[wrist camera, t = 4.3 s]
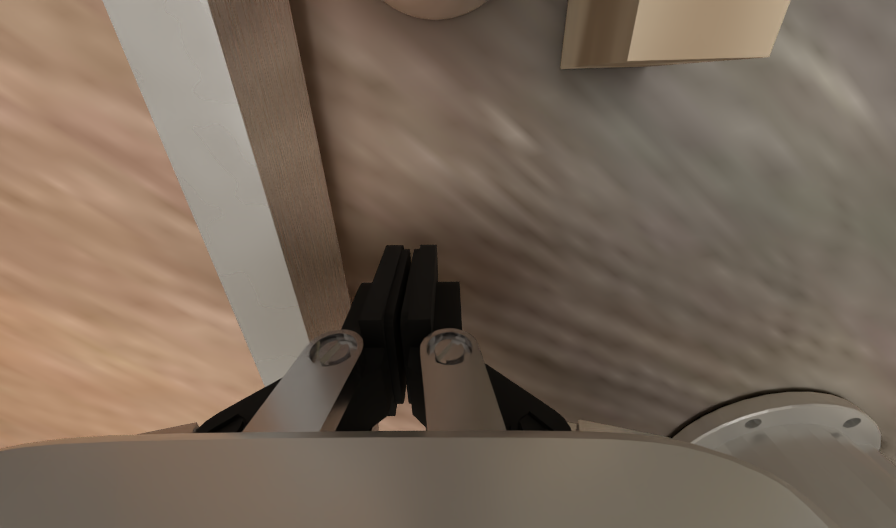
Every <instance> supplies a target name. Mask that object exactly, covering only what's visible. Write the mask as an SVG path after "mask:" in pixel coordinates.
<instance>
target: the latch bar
mask: <svg viewBox="0 0 896 528" xmlns="http://www.w3.org/2000/svg"><path fill="white" fill-rule="evenodd" d="M103 3H104V5H105V8H106V10H107V12H108V15H109V17H110V19H111V22H112V24H113V27H114V29H115V31H116V34H117V36H118V38H119V41H120V43H121V46H122V48H123V50H124V53H125V55H126V57H127V60H128V62H129V65H130V67H131V69H132V72H133V74H134V76H135V79H136V81H137V84H138V86H139V88H140V91H141V93H142V95H143V98H144V100H145V103H146V105H147V107H148V110H149V112H150V114H151V117H152V119H153V122H154V124H155V126H156V129H157V131H158V133H159V136H160V138H161V141H162V143H163V145H164V148H165V150H166V152H167V155H168V157H169V160H170V162H171V164H172V167H173V169H174V171H175V174H176V176H177V179H178V181H179V183H180V186H181V188H182V190H183V193H184V195H185V198H186V200H187V202H188V205H189V207H190V209H191V212H192V214H193V217H194V219H195V221H196V224H197V226H198V228H199V231H200V233H201V236H202V238H203V240H204V243H205V245H206V247H207V250H208V252H209V255H210V257H211V259H212V262H213V264H214V266H215V269H216V271H217V274H218V276H219V278H220V281H221V283H222V285H223V288H224V290H225V293H226V295H227V297H228V300H229V302H230V304H231V307H232V309H233V312H234V314H235V316H236V319H237V321H238V323H239V326H240V328H241V331H242V333H243V335H244V338H245V340H246V342H247V345H248V347H249V350H250V352H251V354H252V357H253V359H254V361H255V364H256V366H257V369H258V371H259V373H260V376H261V378H262V381H263V383H264V385H265V387H266V386H268V385H270V384H272V383H273V382H275V381H277V380H279V379H281V378H282V377H283V376H284V375H285V374H286V372H287V371H288V370H289V368H290V367H291V366H292V364H293V363H294V362H295V360H296V359H297V358H298V356H299V355H300V354H301V352H302V351H303V350H304V348H305V347H306V346H307V345H308V344H309V343H310V342H311V341H312V340H313V339H314V338H316V337H317V336H319V335H321V334H324V333H326V332H329V331H333V330H341V328H342V326H343V324H344V321H345V319H346V317H347V314H348V312H349V310H350V307H351V303H350V298H349V293H348V288H347V283H346V278H345V273H344V268H343V263H342V259H341V254H340V249H339V244H338V239H337V234H336V229H335V224H334V219H333V214H332V210H331V205H330V200H329V195H328V190H327V185H326V180H325V175H324V170H323V166H322V161H321V156H320V151H319V146H318V141H317V136H316V131H315V126H314V121H313V117H312V112H311V107H310V102H309V97H308V92H307V87H306V82H305V77H304V73H303V68H302V63H301V58H300V53H299V48H298V43H297V38H296V33H295V28H294V24H293V19H292V14H291V9H290V4H289V0H103Z"/></svg>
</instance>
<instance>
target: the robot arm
mask: <svg viewBox="0 0 896 528" xmlns="http://www.w3.org/2000/svg"><path fill="white" fill-rule="evenodd" d="M406 384H407V393H408V401H409V404H412V413H413V415H414V416H415V417H416V418H417V419H418V420H419V421H420V422H421V423H422V424H423V425H424V426H425V427H426V431H378V430H379V425H378V423H379V422H380V421H381V420H383V419H384V418H385V417H386V416H395V415H396V409H397V404H403V403H404V398H405V391H406ZM880 447H881V432H880V430H879V427H878V425H877V423H876V422H875V421H874V420H872V419H871V418H870V417H869V416H868V415H867V414H866V413H864V412H863V411H862V410H861V409H859V408H858V407H857V406H855V405H854V404H852V403H851V402H849V401H848V400H846V399H843V398H840V397H837V396H834V395H831V394H824V393H816V392H783V393H775V394H767V395H762V396H758V397H754V398H750V399H745V400H742V401H739V402H736V403H733V404H730V405H727V406H724V407H722V408H720V409H717V410H715V411H713V412H711V413H709V414H707V415H705V416H702V417H701V418H699V419H698V420H696V421H694V422H693V423H691V424H689V425H688V426H686V427H685V428H684V429H682V430H681V431H680V432H679V433H677V434H676V435H675V436H674V437H673V438H669V437H666V436H661V435H656V434H651V433H646V432H641V431H636V430H631V429H626V428H621V427H615V426H610V425H605V424H600V423H595V422H590V421H585V420H580V419H578V423H577V424H575V423H570V422H566V420H565V419H564V418H563V417H562V416H561V415H560V414H558V413H557V412H556V411H555V410H553V409H552V408H550V407H549V406H547V405H546V404H544V403H543V402H542V401H540V400H539V399H537V398H536V397H534V396H533V395H531V394H530V393H528V392H527V391H525V390H524V389H522V388H521V387H519V386H518V385H516V384H515V383H513V382H512V381H510V380H509V379H507V378H506V377H505V376H503V375H502V374H500V373H499V372H497V371H496V370H494V369H493V368H491V367H490V366H488V365H487V364H485V363H484V360H483V357H482V354H481V351H480V348H479V345H478V343H477V341H476V339H475V338H474V337H473V336H472V335H471V334H469V333H467V332H465V331H463V330H462V321H461V302H460V283H459V282H438V265H437V245H420V249H414V252H413V257H412V262H411V256H410V250H409V249H404V246H403V245H387V246H386V248H385V251H384V253H383V256H382V259H381V261H380V264H379V267H378V269H377V272H376V275H375V277H374V280H373V282H372V283H361V285H360V287H359V289H358V291H357V294H356V296H355V298H354V301H353V303H352V305H351V307H350V310H349V312H348V314H347V317H346V319H345V321H344V324H343V326H342V328H341V330H333V331H329V332H326V333H324V334H321V335H319V336H317V337H316V338H314V339H313V340H312V341H311V342H310V343H309V344H308V345H307V346H306V347H305V348H304V350H303V351H302V352H301V354H300V355H299V356H298V358H297V359H296V360H295V362H294V363H293V364H292V366H291V367H290V368H289V370H288V371H287V372H286V374H285V375H284V376H283V377H282V378H281V379H279V380H277V381H275V382H273V383H272V384H270V385H268V386H266V387H264V388H263V389H261V390H259V391H257V392H255V393H254V394H252V395H250V396H248V397H246V398H245V399H243V400H241V401H239V402H237V403H236V404H234V405H232V406H230V407H228V408H227V409H225V410H223V411H221V412H219V413H218V414H216V415H215V416H213V417H212V418H210V419H209V420H207V421H206V422H205V423H204V424H202V425H201V426H200V427H199V426H198V424H197V422H196V423H191V424H186V425H181V426H176V427H171V428H166V429H161V430H156V431H152V432H147V433H142V434H137V435H108V436H93V437H77V438H64V439H56V440H48V441H41V442H33V443H25V444H21V445H16V446H11V447H6V448H1V449H0V528H896V466H895V465H894V464H893V463H891V462H890V461H889V460H888V459H887V458H886V457H884V456H883V455H882V454H881V453H880V452H879V449H880Z"/></svg>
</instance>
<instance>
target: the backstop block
mask: <svg viewBox="0 0 896 528" xmlns="http://www.w3.org/2000/svg"><path fill="white" fill-rule="evenodd" d="M790 1H791V0H568V7H567V16H566V24H565V32H564V40H563V49H562V57H561V65H560V69H577V68H613V67H648V66H660V65H673V64H686V63H699V62H711V61H724V60H737V59H750V58H763V57H769V56H770V53H771V51H772V48H773V45H774V43H775V40H776V37H777V35H778V32H779V30H780V27H781V24H782V22H783V19H784V16H785V14H786V11H787V8H788V6H789V3H790Z"/></svg>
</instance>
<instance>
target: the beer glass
mask: <svg viewBox="0 0 896 528" xmlns="http://www.w3.org/2000/svg"><path fill="white" fill-rule="evenodd" d="M382 1H383V2H385V3H386V4H388V5H389V6H391V7H392V8H394V9H396V10H398V11H400V12H402V13H404V14H407V15H410V16H413V17H416V18H421V19H429V20H441V19H450V18H454V17H458V16H461V15H464V14H466V13H469V12H471V11H473V10H475V9H476V8H478V7H480V6H481V5H483V4H484V3H485V2H487V1H488V0H382Z"/></svg>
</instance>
